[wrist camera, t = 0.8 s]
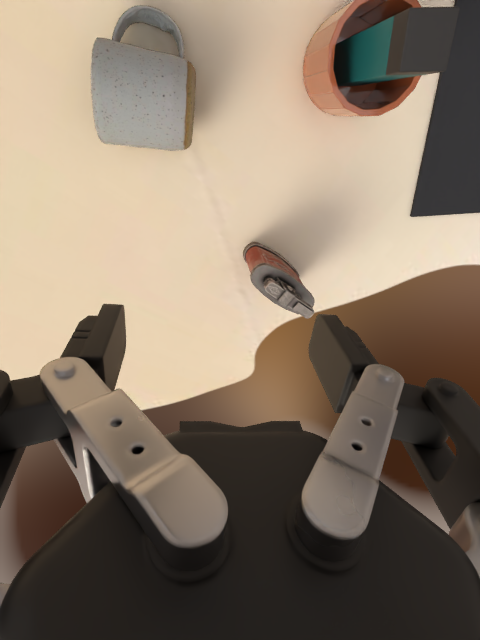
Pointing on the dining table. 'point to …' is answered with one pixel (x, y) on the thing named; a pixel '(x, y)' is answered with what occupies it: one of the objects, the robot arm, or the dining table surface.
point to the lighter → (278, 279)
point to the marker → (397, 47)
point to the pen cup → (365, 100)
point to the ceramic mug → (142, 88)
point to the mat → (454, 127)
